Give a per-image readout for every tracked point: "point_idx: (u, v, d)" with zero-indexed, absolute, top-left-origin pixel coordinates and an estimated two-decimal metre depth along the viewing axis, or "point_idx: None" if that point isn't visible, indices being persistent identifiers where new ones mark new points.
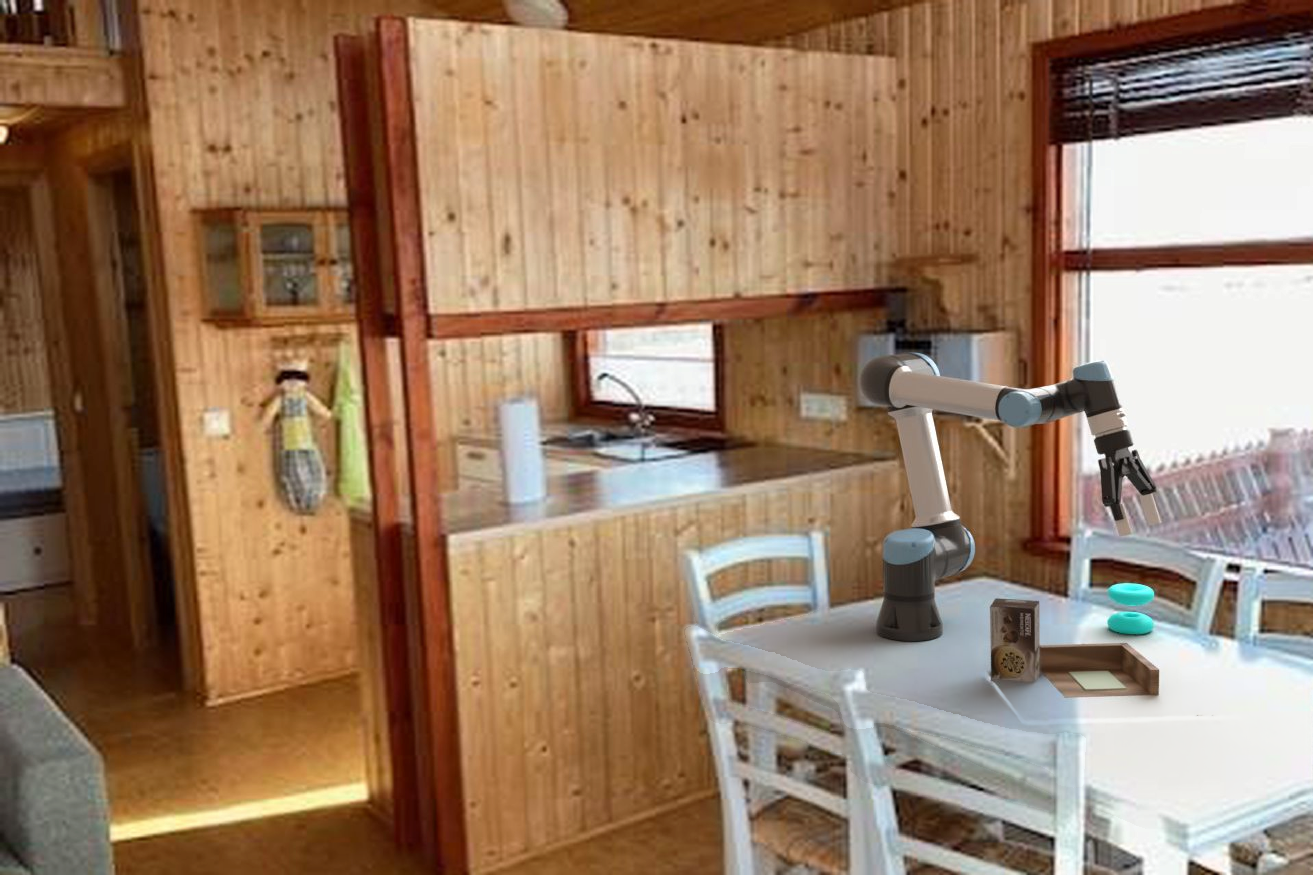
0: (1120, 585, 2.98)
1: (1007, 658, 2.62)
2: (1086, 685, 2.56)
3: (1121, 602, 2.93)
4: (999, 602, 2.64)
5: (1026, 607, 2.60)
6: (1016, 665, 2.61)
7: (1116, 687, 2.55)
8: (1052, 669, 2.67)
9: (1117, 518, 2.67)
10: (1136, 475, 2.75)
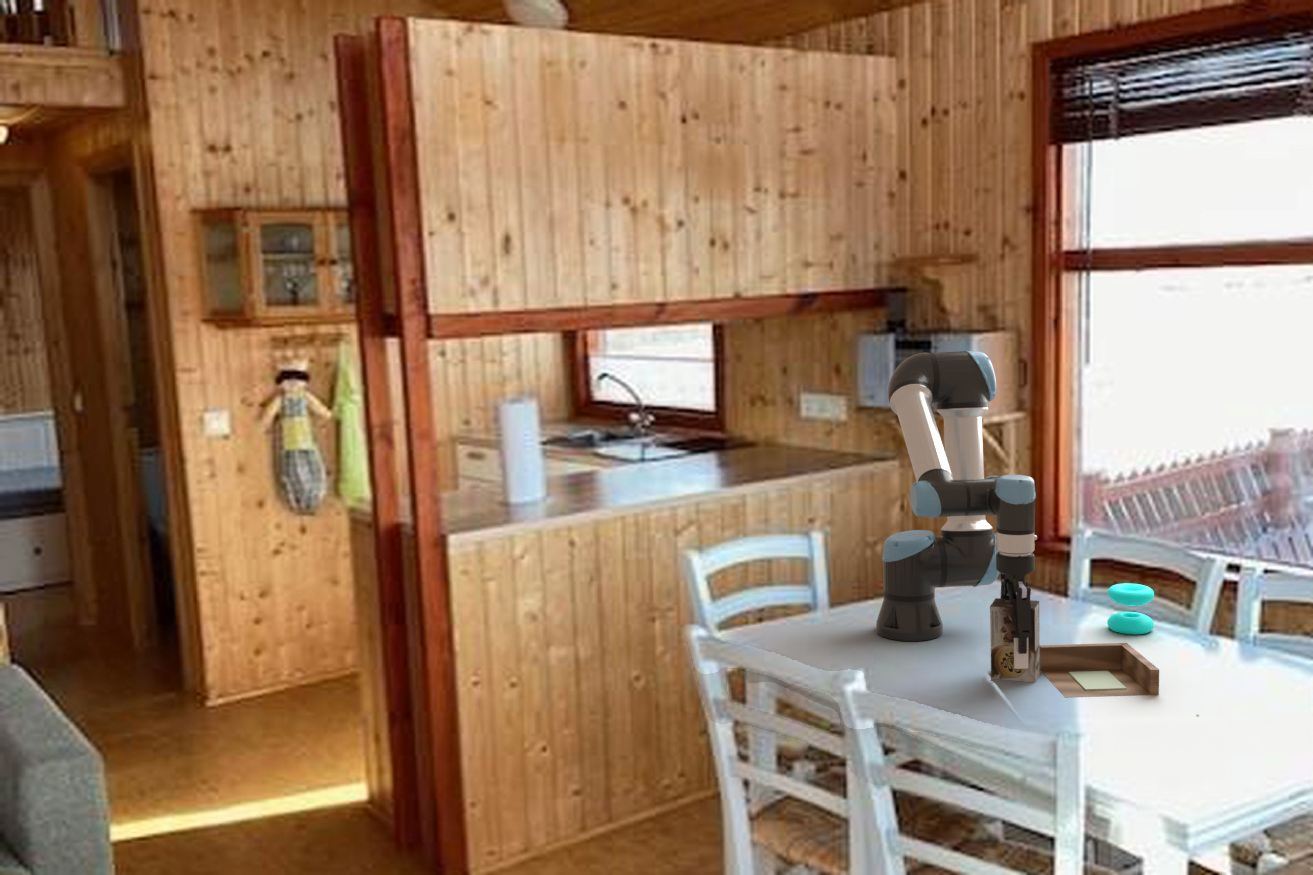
0: (1120, 585, 2.98)
1: (1007, 658, 2.62)
2: (1086, 685, 2.56)
3: (1121, 602, 2.93)
4: (999, 602, 2.64)
5: None
6: None
7: (1116, 687, 2.55)
8: (1052, 669, 2.67)
9: (1023, 651, 2.58)
10: None
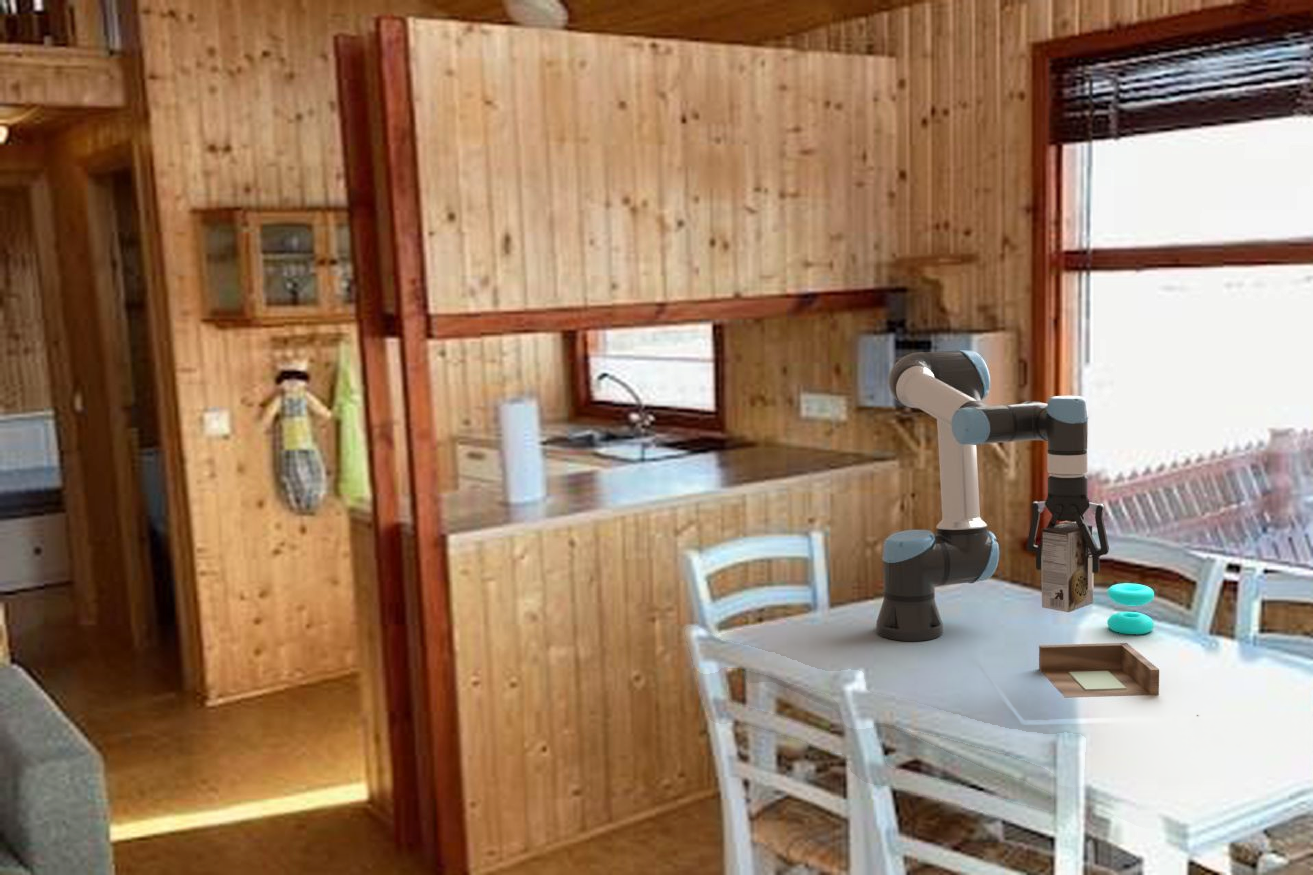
0: (1120, 585, 2.98)
1: (1079, 582, 2.55)
2: (1086, 685, 2.56)
3: (1121, 602, 2.93)
4: (1060, 529, 2.55)
5: None
6: (1083, 588, 2.57)
7: (1116, 687, 2.55)
8: (1052, 669, 2.67)
9: (1098, 570, 2.56)
10: None
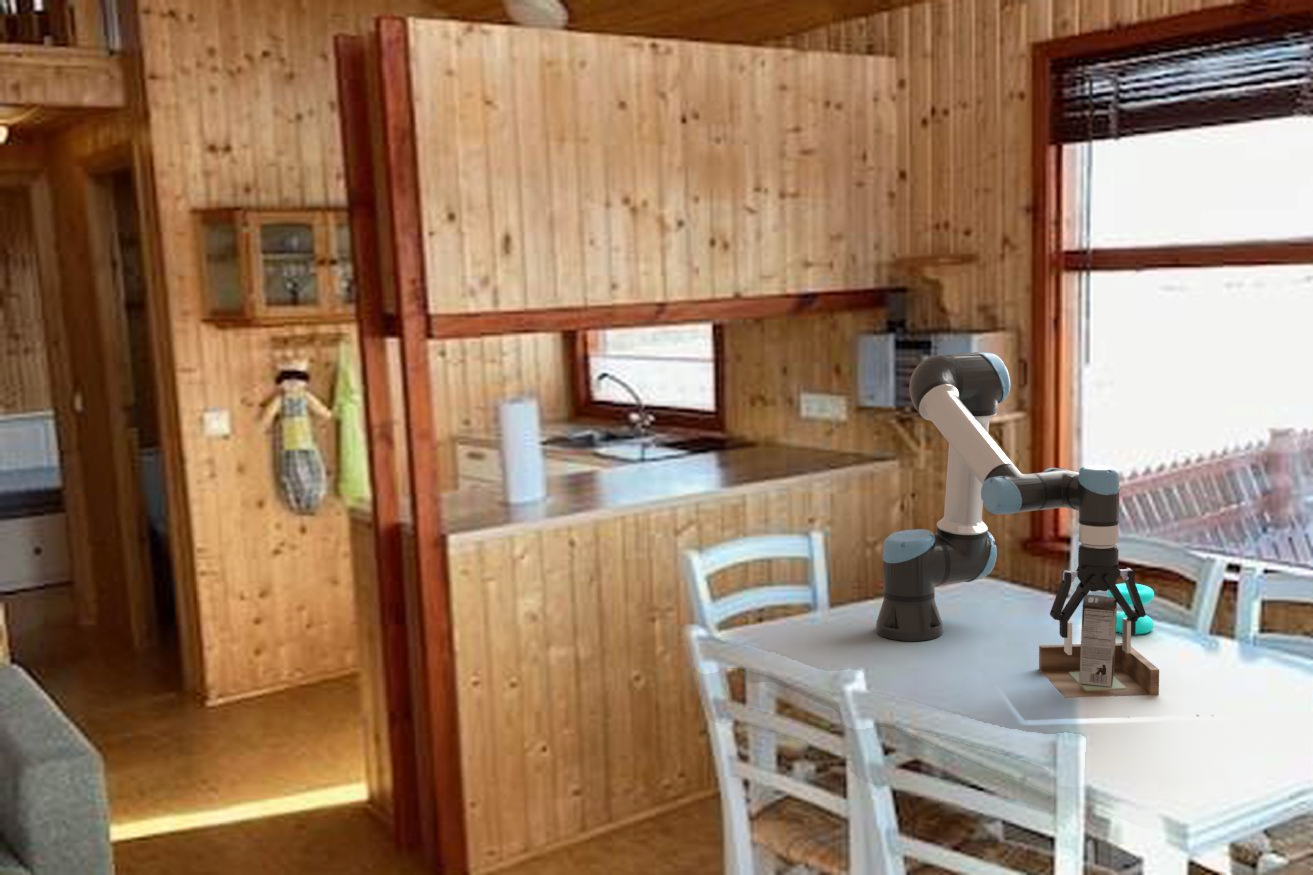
0: (1120, 585, 2.98)
1: (1114, 655, 2.57)
2: (1086, 685, 2.56)
3: None
4: (1100, 604, 2.55)
5: (1113, 599, 2.59)
6: None
7: (1116, 687, 2.55)
8: (1052, 669, 2.67)
9: None
10: None
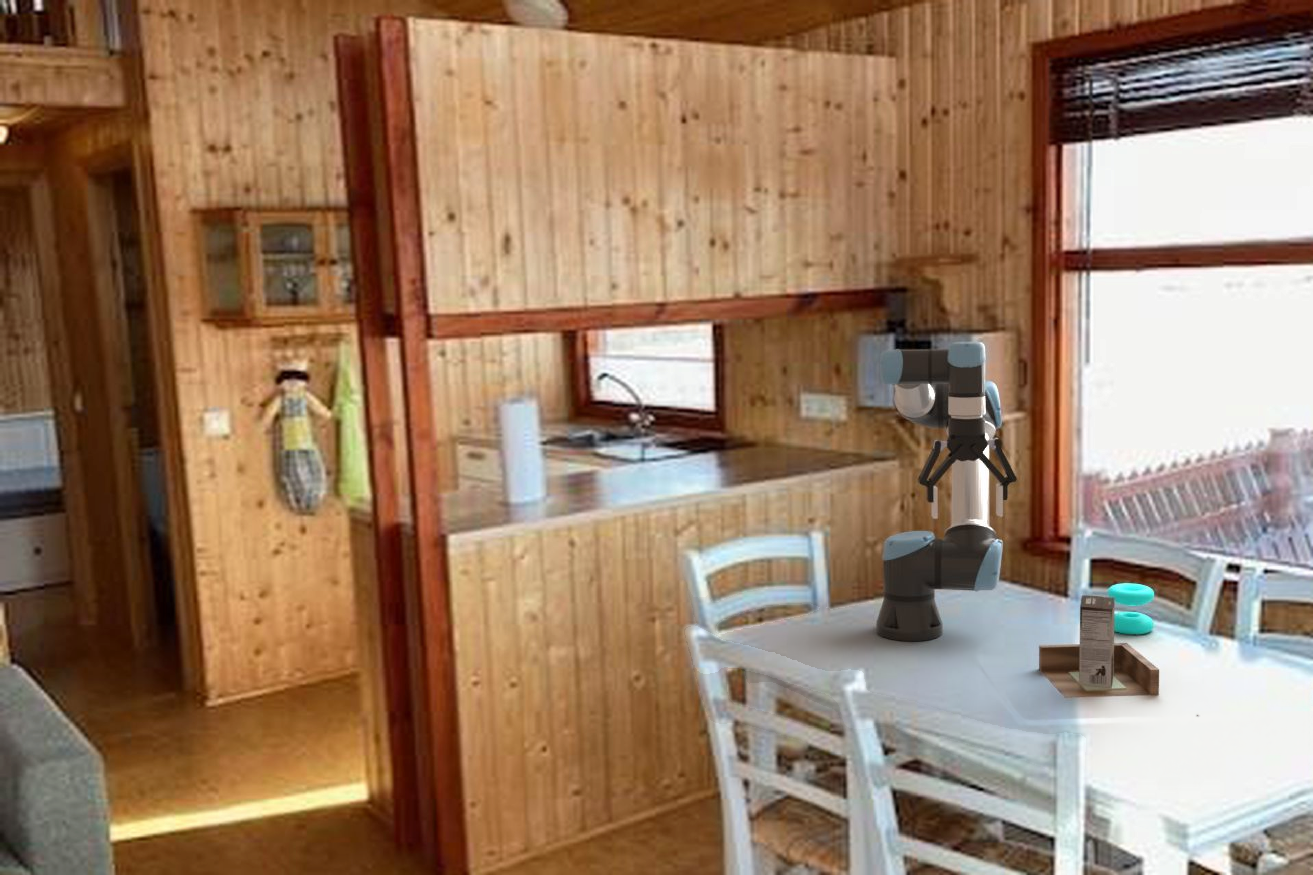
0: (1120, 585, 2.98)
1: (1113, 656, 2.57)
2: (1086, 685, 2.56)
3: (1121, 602, 2.93)
4: (1098, 605, 2.55)
5: (1110, 599, 2.59)
6: None
7: (1116, 687, 2.55)
8: (1052, 669, 2.67)
9: None
10: None
